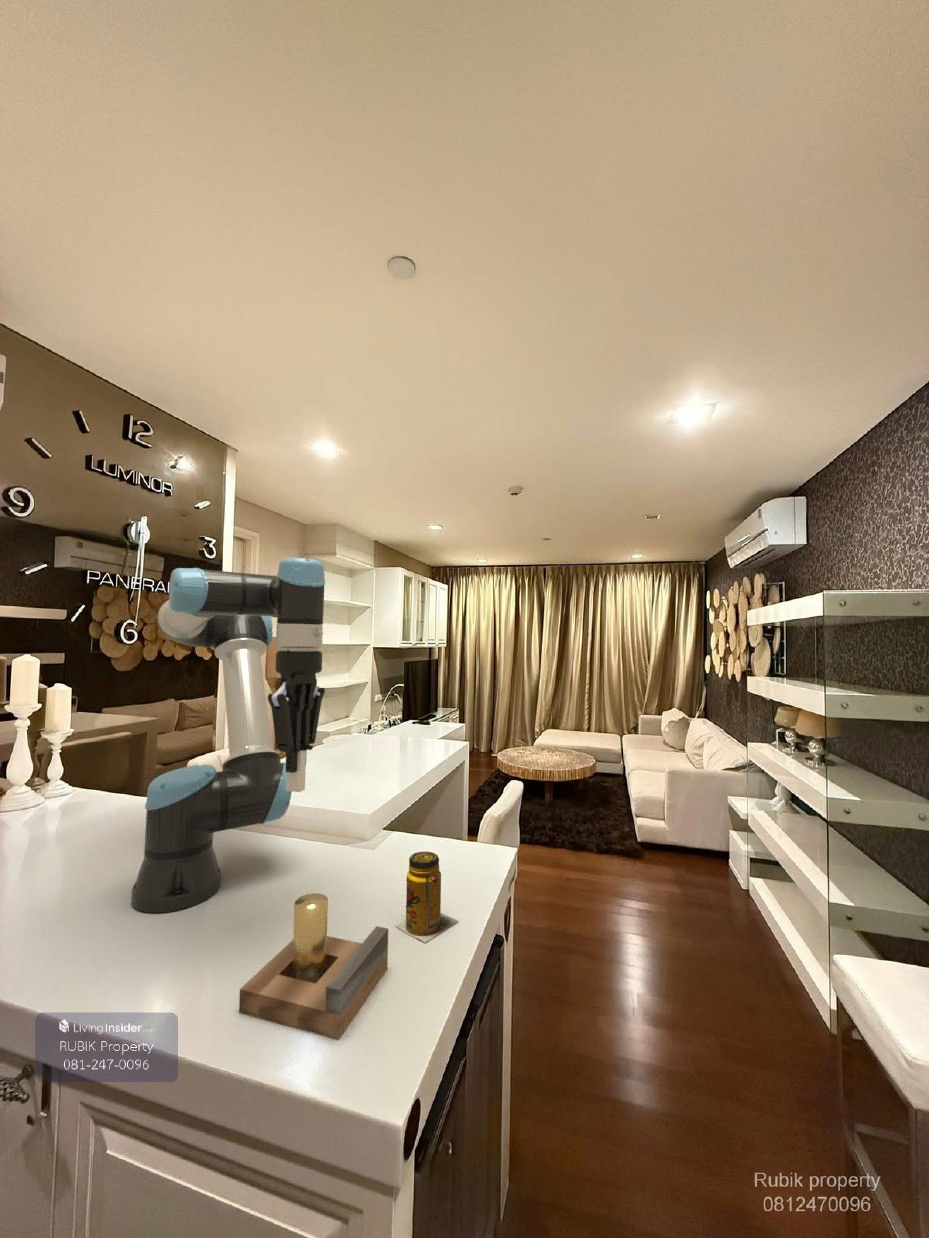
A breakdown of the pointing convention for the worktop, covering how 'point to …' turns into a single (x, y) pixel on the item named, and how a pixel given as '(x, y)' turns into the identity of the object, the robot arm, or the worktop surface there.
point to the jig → (318, 986)
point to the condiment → (424, 898)
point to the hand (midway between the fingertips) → (295, 789)
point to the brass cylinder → (310, 937)
